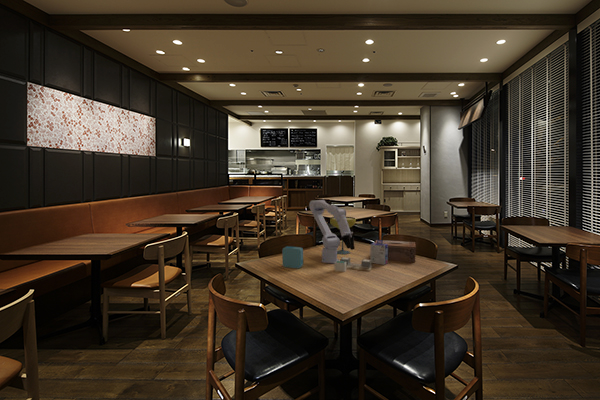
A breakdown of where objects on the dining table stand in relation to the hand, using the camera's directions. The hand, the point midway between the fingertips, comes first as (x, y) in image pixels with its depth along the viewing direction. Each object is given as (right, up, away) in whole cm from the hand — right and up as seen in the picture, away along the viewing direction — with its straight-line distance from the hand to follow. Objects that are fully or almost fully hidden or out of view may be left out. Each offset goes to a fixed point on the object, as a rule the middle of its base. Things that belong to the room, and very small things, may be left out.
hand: (351, 248), depth 180 cm
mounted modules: (+4, -11, +6) cm, 13 cm away
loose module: (-6, -13, +1) cm, 14 cm away
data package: (-35, -13, +8) cm, 38 cm away
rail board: (+4, -12, +6) cm, 14 cm away
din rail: (+4, -12, +6) cm, 14 cm away
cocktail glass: (+1, -9, +41) cm, 42 cm away
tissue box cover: (+34, -11, +27) cm, 45 cm away
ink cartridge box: (+20, -12, +15) cm, 27 cm away
